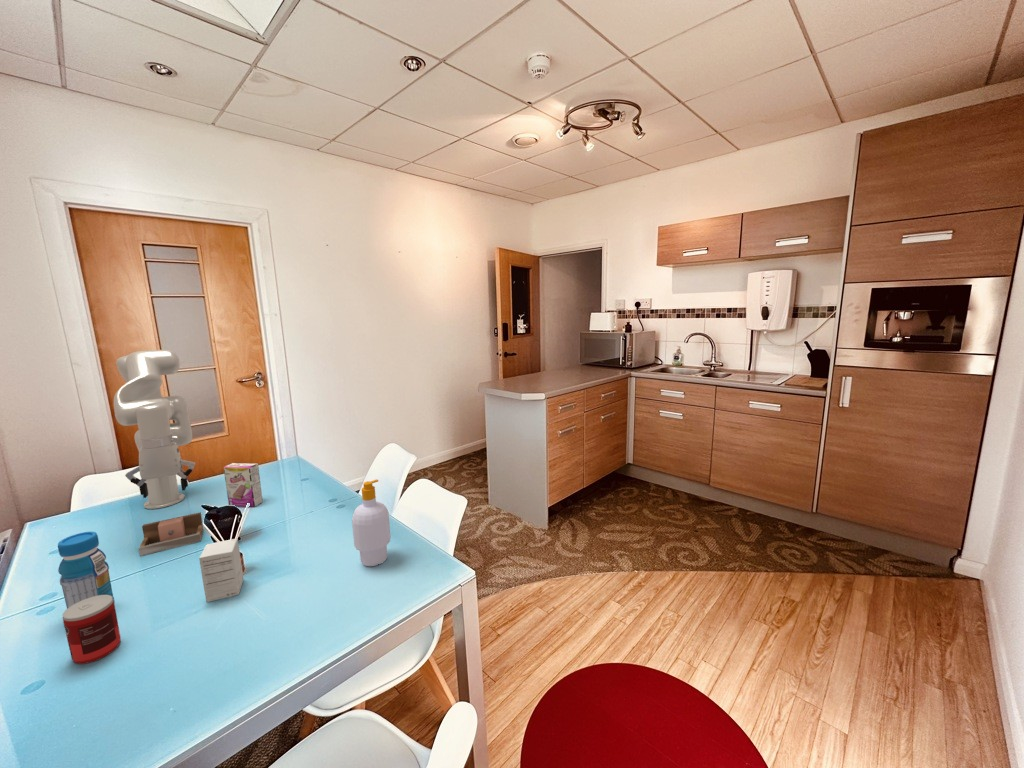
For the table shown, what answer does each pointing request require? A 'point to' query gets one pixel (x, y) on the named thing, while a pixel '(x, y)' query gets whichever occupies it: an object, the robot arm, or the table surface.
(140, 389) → the robot arm
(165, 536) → the salmon pink block
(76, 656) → the canned food
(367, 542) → the soap bottle
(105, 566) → the beverage bottle
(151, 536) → the board
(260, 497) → the candy bar box
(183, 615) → the table surface
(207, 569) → the supplement box
